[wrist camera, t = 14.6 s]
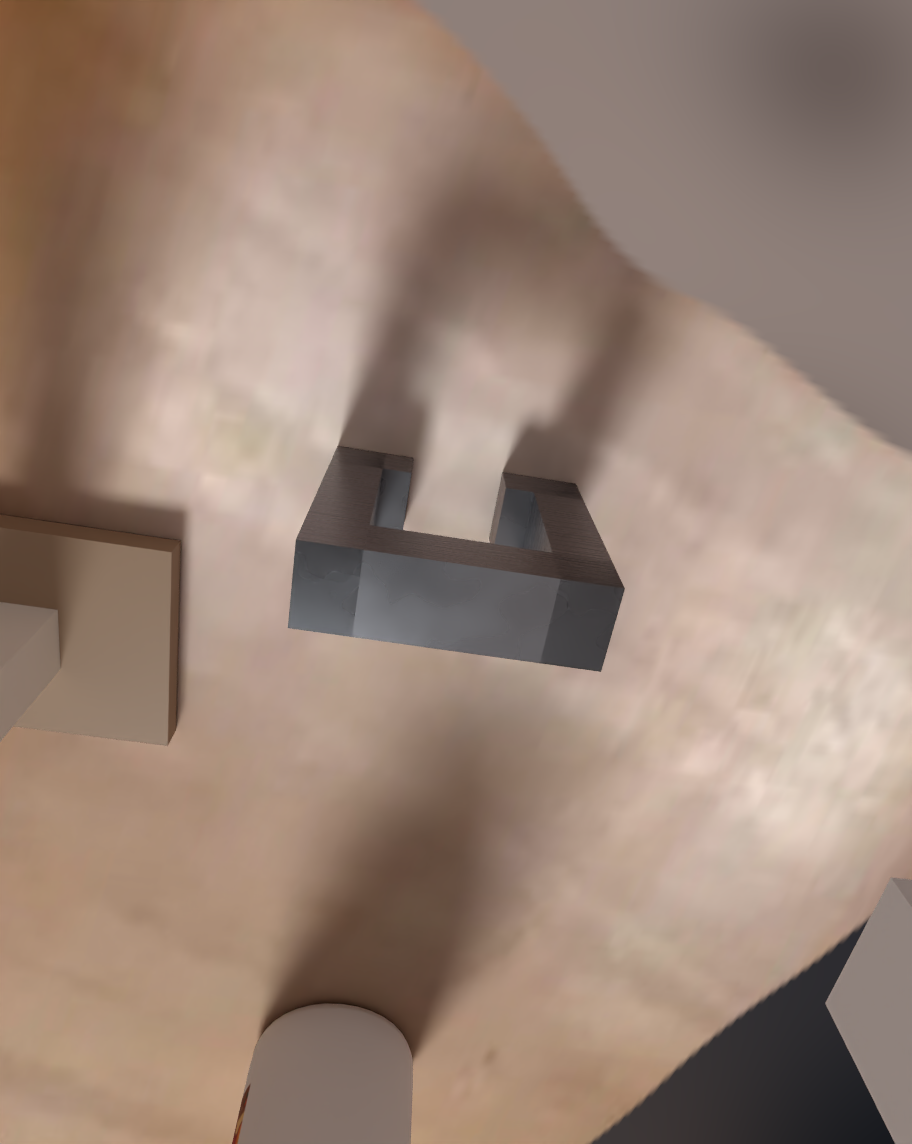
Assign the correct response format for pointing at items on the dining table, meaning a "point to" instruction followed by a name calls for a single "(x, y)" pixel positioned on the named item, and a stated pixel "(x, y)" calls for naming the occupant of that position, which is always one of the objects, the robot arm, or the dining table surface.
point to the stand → (88, 631)
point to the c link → (455, 569)
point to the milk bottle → (328, 1080)
